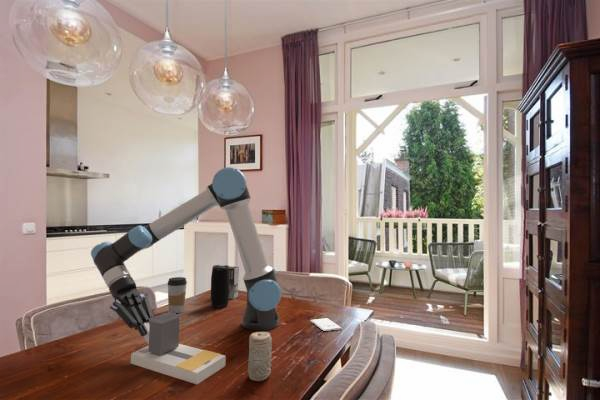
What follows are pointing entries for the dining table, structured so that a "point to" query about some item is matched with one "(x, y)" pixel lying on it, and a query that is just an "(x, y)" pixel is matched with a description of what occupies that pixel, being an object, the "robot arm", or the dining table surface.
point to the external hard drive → (325, 324)
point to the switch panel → (181, 362)
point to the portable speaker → (220, 286)
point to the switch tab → (164, 333)
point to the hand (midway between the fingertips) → (153, 342)
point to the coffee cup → (176, 294)
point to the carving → (259, 356)
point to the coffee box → (233, 282)
